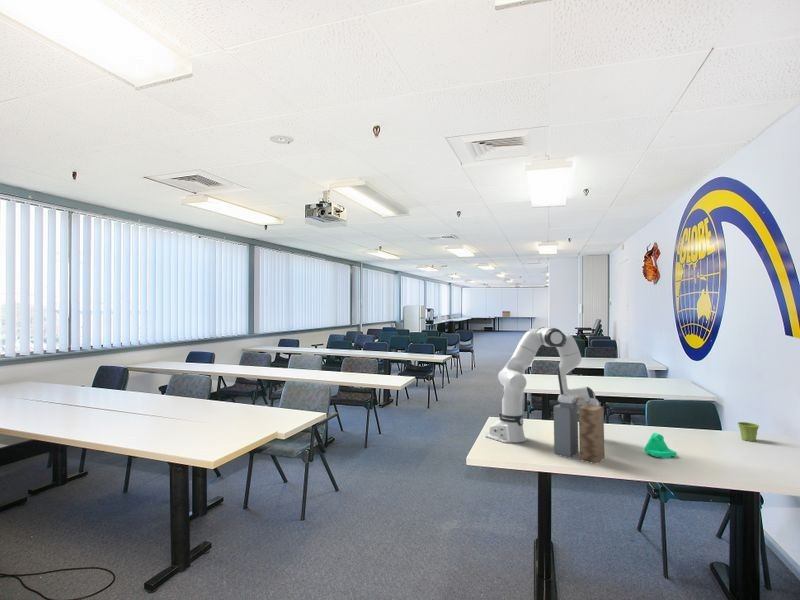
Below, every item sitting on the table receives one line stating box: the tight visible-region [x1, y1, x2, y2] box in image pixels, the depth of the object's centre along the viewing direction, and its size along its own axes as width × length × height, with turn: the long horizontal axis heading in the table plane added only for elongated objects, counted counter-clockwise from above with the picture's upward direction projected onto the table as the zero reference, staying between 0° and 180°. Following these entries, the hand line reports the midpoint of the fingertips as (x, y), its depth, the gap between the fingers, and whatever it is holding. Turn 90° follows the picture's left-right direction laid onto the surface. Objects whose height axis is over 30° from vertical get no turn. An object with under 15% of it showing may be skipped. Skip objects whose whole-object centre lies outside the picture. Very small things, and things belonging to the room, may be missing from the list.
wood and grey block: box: [559, 396, 578, 409], centre depth 218 cm, size 6×20×4 cm, turn 145°
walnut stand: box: [578, 404, 605, 464], centre depth 206 cm, size 8×11×25 cm
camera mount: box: [643, 432, 678, 459], centre depth 210 cm, size 12×8×10 cm, turn 96°
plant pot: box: [737, 421, 760, 442], centre depth 234 cm, size 9×9×9 cm
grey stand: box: [553, 403, 580, 458], centre depth 215 cm, size 8×11×24 cm
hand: (573, 396), depth 223 cm, fingers open, 8 cm apart
